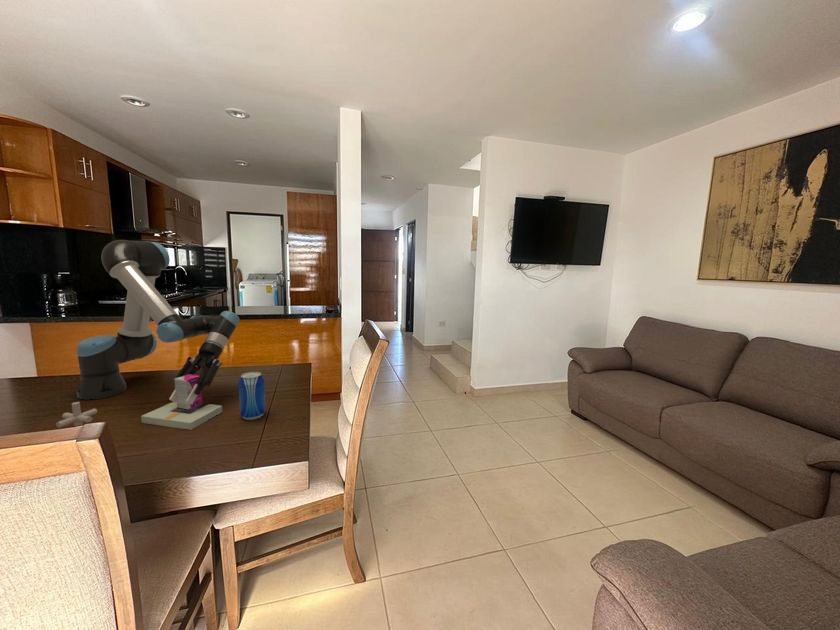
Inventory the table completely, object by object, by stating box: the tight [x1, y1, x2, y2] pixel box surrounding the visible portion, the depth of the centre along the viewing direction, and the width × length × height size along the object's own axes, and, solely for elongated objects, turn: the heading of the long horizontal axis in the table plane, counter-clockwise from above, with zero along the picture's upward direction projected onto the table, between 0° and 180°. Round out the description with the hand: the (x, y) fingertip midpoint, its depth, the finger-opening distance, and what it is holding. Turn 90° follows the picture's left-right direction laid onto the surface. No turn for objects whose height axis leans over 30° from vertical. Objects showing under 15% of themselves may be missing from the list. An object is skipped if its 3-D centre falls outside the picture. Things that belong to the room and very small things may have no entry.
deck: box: [140, 401, 223, 431], centre depth 121 cm, size 14×20×3 cm
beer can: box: [238, 371, 266, 421], centre depth 123 cm, size 8×8×16 cm
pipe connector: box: [55, 401, 98, 429], centre depth 108 cm, size 10×10×10 cm
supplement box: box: [174, 374, 203, 411], centre depth 123 cm, size 6×6×12 cm
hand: (180, 401), depth 119 cm, fingers closed on supplement box, 6 cm apart
